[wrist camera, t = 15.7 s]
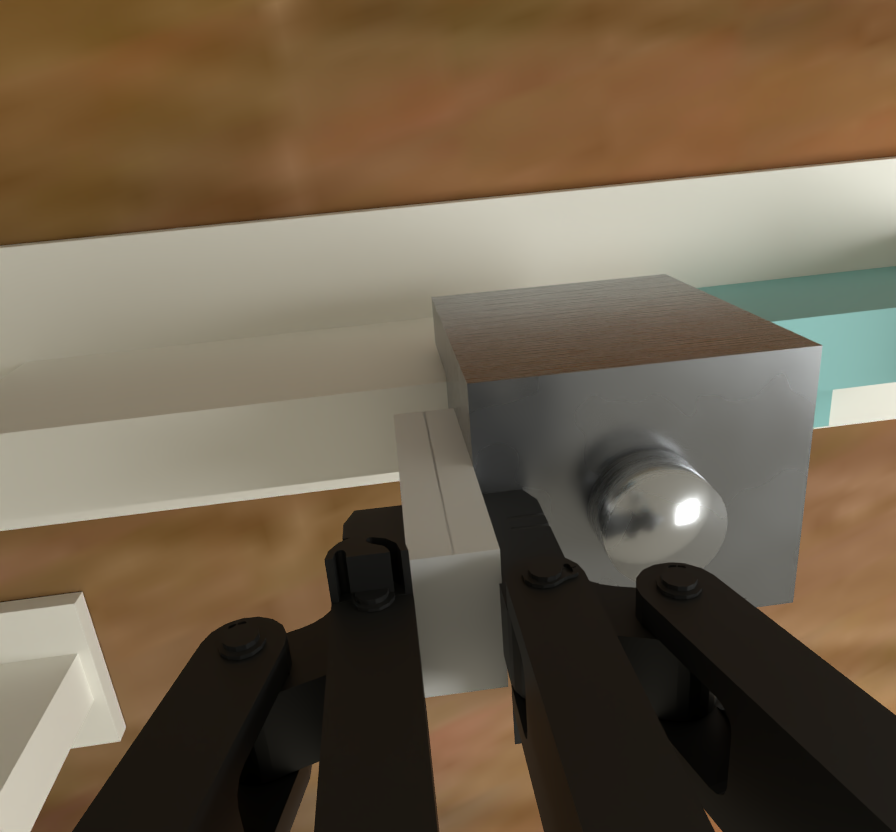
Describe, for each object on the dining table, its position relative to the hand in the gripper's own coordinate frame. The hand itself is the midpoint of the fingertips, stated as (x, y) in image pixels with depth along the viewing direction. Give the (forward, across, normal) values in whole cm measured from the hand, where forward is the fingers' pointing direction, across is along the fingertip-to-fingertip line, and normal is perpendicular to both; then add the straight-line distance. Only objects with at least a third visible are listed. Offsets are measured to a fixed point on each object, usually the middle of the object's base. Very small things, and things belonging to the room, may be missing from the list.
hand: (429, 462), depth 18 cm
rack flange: (+10, +1, 0) cm, 10 cm away
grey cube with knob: (+5, +4, 0) cm, 6 cm away
